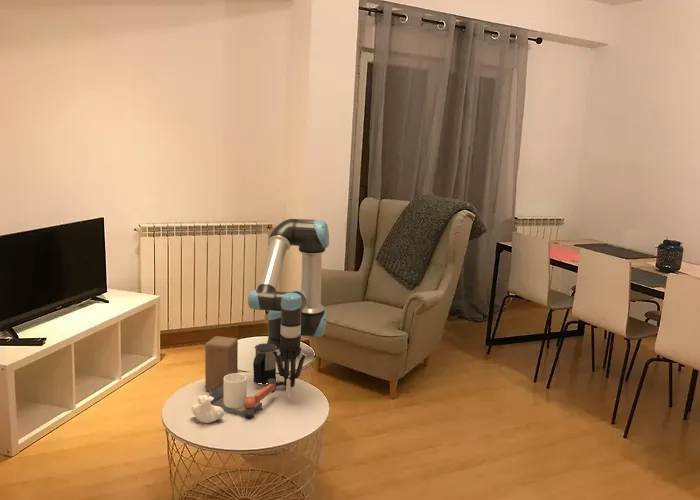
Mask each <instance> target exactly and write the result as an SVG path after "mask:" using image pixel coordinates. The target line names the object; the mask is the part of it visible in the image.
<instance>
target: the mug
mask: <svg viewBox="0 0 700 500" xmlns="http://www.w3.org/2000/svg"><path fill="white" fill-rule="evenodd" d="M245 397H247V376H246V375H245V374H243V373H233V374H228V375H226V376H225V377H224V405H225V406H226V407H228V408H240V407H243V406H244V398H245Z"/></svg>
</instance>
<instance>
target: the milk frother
mask: <svg viewBox="0 0 700 500" xmlns="http://www.w3.org/2000/svg"><path fill="white" fill-rule="evenodd" d="M254 349H255V357H254V358H253V363H252V365H253V369H252V371H253V382H254V383H255V382H256V383H255V384H257V383H262V384H266V383H268V379H270V378H273V379H277V361H276V357H275V356H274V354H273V352H274V351H275V350H276V349H277V346H276V345H274V344H268V343H267V342H266V343H259V344H257V345H255V346H254ZM276 385H277V386H284V381H276Z"/></svg>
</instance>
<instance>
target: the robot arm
mask: <svg viewBox="0 0 700 500" xmlns="http://www.w3.org/2000/svg"><path fill="white" fill-rule="evenodd" d="M329 234H330V233H329V227H328V224H327V222H326V221H325V220H319V219H303V218H287V219H285V220H283V221H281V222H280V223H279V224H278V225H276V226H275V227H274V229H273V230H272V231H271V233H270V235H269V237H268V240H267V246H268V249H267V251H266V252H267V253H266V256H265V259H264V263H263V266H262V267H263V268H262V269H261V273H260V277H259V280H258V283H257V288H256V289H251V290H250V291H249V293H248V296H247V304H248V308H250V309H251V310H257V311H268V317H267V320H268V322H267V323H268V326H267V327H268V329H267V331H268V332H267V337H268V338H267V342H266V343H268V344H274V345H276V346H277V349H276V350H275V351H274V352H273V354H274V356H275V357H276V367H277V370H278V375H279V376H280V377H283V382H284V385H283V387H285V386H286V387H285V390H286V391H285V396H288V397H290V396H292V394H293V388H294V387H295V386H296V379H297V380H298V378H299V377H300V376H301V373H302V369H303V365H304V361H305V359H306V358H307V356H308V354H307V353H304V352H303V351H302V347H301V339H302V337H311V338H315V337H317V338H319V337H320V338H321V337H322V336H323V335H324V334H325V330H326V325H327V320H328V314H329V313H328V311H326V310H325V306H323V304H322V264H323V263H322V260H323V259H322V256H323V254H324V253H325V252H326V249H327V248H329V245H330V235H329ZM291 246H295V247H296V246H297V247H298V252H300V254H301V290H298V289H297V290H296V289H295V290H292V291H291V292H289V291H277V290H278V285H279V282H280V278H281V274H282V270H283V266H284V262H285V259H286V258H285V257H286V253H287V251H288V250H289V249H290V247H291ZM298 357H299V361H298V364H297V358H298ZM296 364H297V365H296ZM296 367H297V368H296Z"/></svg>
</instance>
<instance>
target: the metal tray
mask: <svg viewBox="0 0 700 500" xmlns="http://www.w3.org/2000/svg"><path fill="white" fill-rule="evenodd" d="M209 396H211V397H214V399H213V401H211V405H213V406H219V407H221V408H222V409H223V410H224V412H226V413H230V414H233V415H236V416H239V417H242V418H245V419H247V420H251V419H254V418H255V415H254V414H255V412H256V411H258V410H260V409H261V408H262V407H263V403H262V402H260V404H259V405H258V406H256V407H255V408H254V407H253V408H246V407H244V406H243V407H240V408H228V407H226V406H225V405H224V383H222V384H220V385H219V386H217V387H215V388H213V389H211V390H209V391H208V397H209ZM260 407H261V408H260Z"/></svg>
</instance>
